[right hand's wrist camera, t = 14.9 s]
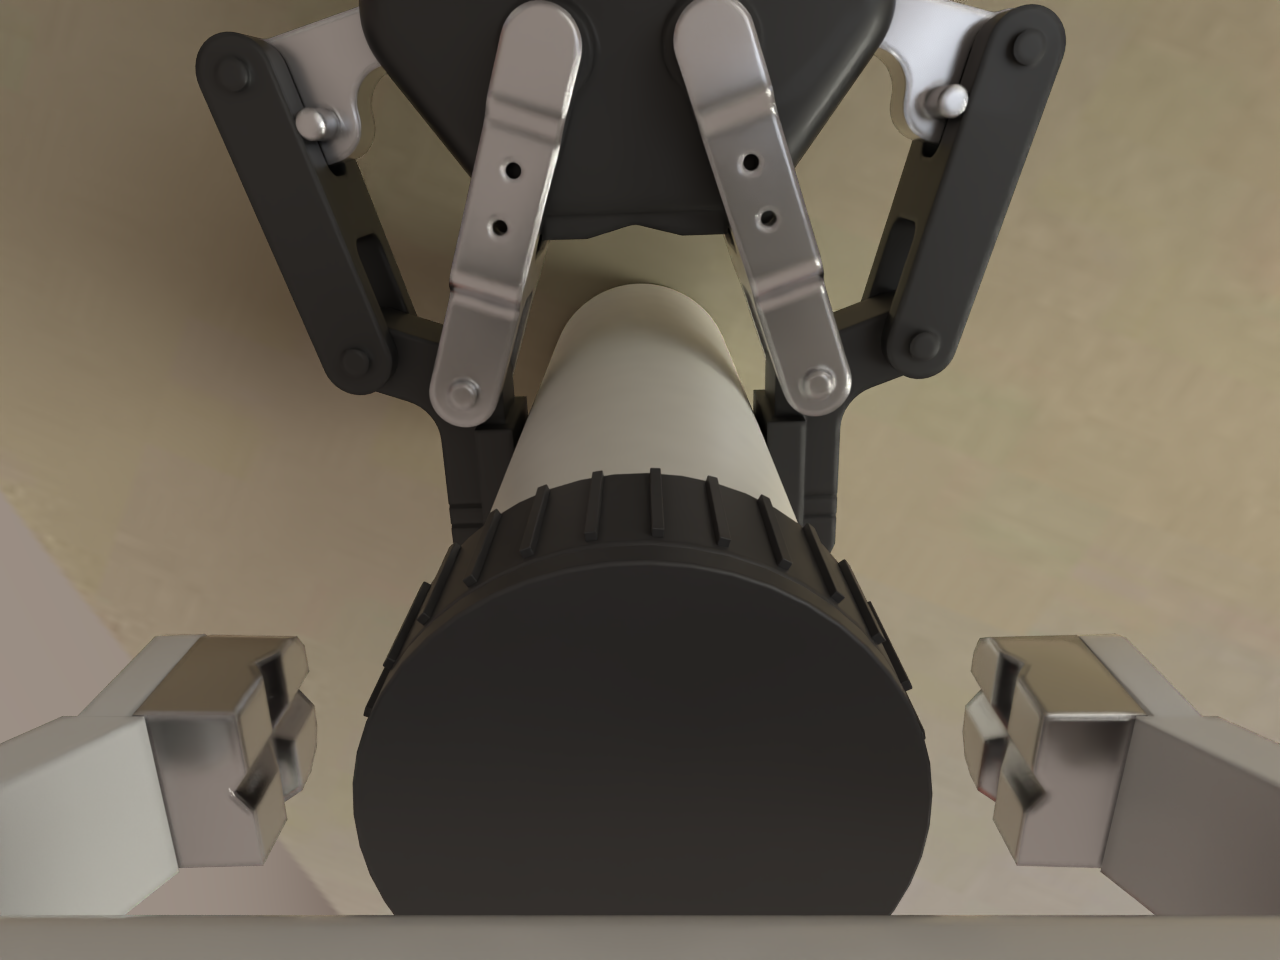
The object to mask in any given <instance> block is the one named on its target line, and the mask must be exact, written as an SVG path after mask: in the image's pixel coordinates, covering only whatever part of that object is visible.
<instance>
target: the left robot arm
mask: <svg viewBox="0 0 1280 960" xmlns="http://www.w3.org/2000/svg"><path fill="white" fill-rule="evenodd" d="M1065 46H1066V35H1065V30H1064V27H1063V24H1062V22H1061V21H1060V19H1059V17H1058V16H1057V15H1056V14H1055V13H1054V12H1053V11H1052V10H1050V9H1048V8H1046V7H1044V6H1041V5H1035V4H1029V5H1023V6H1020V7H1017V8H1010V9H1005V10H1002V11H998V12H990V11H986V10H982V9H979V8H975V7H971V6H968V5H964V4H960V3H957V2H953V1H949V0H359V7H356V8H353V9H350V10H347V11H345V12H342V13H339V14H336V15H333V16H331V17H328V18H325V19H322V20H319V21H317V22H314V23H311V24H308V25H305V26H302V27H300V28H297V29H294V30H291V31H288V32H286V33H283V34H280V35H277V36H274V37H272V38H268V39H260V38H256V37H252V36H248V35H244V34H240V33H235V32H222V33H218V34H215V35H213V36H212V37H210V38H209V39H207V40H206V41H205V42H204V44H203V45H202V46H201V48H200V50H199V52H198V55H197V58H196V66H195V67H196V77H197V81H198V84H199V86H200V89H201V91H202V93H203V96H204V98H205V100H206V102H207V105H208V107H209V109H210V112H211V114H212V116H213V118H214V121H215V123H216V125H217V127H218V130H219V132H220V134H221V137H222V139H223V141H224V143H225V146H226V148H227V150H228V152H229V155H230V157H231V159H232V162H233V164H234V166H235V168H236V171H237V173H238V175H239V177H240V180H241V182H242V184H243V187H244V189H245V191H246V193H247V196H248V198H249V200H250V202H251V205H252V207H253V209H254V212H255V214H256V216H257V218H258V221H259V223H260V225H261V227H262V230H263V232H264V234H265V236H266V239H267V241H268V243H269V246H270V248H271V250H272V252H273V255H274V257H275V259H276V261H277V264H278V266H279V268H280V271H281V273H282V275H283V277H284V280H285V282H286V284H287V286H288V289H289V291H290V293H291V296H292V298H293V300H294V302H295V305H296V307H297V309H298V311H299V314H300V316H301V318H302V321H303V323H304V325H305V327H306V330H307V332H308V334H309V336H310V339H311V341H312V343H313V346H314V348H315V350H316V352H317V355H318V357H319V359H320V361H321V364H322V366H323V368H324V371H325V373H326V374H327V376H328V378H329V379H330V380H331V382H332V383H333V384H334V385H336V386H337V387H338V388H340V389H341V390H343V391H345V392H347V393H350V394H355V395H366V394H371V393H373V392H379V393H383V394H386V395H389V396H392V397H396V398H399V399H402V400H405V401H409V402H411V403H414V404H416V405H418V406H419V407H421V408H422V409H424V410H425V411H426V412H427V413H428V414H429V415H430V416H431V417H432V418H433V420H434V421H435V423H436V425H437V427H438V429H439V432H440V435H441V441H442V449H443V458H444V467H445V475H446V484H447V493H448V501H449V505H450V509H449V510H450V519H451V524H452V536H453V543H454V542H456V543H458V544H459V545H460V546H461V545H462V544H463V543H464V542H465V541H466V540H467V539H468V538H469V537H470V536H471V535H473V534H474V533H475V532H476V531H478V530H479V529H480V528H481V527H483V526H484V525H485V522H486V520H487V517H488V515H489V513H490V511H491V509H492V506H493V504H494V501H495V499H496V496H497V494H498V491H499V489H500V486H501V484H502V481H503V479H504V476H505V474H506V471H507V469H508V466H509V463H510V461H511V458H512V456H513V453H514V451H515V448H516V446H517V443H518V441H519V438H520V436H521V433H522V431H523V428H524V426H525V423H526V421H527V418H528V410H527V397H526V396H523V397H514V385H513V374H514V371H515V367H516V363H517V359H518V355H519V352H520V348H521V344H522V340H523V336H524V332H525V328H526V324H527V320H528V317H529V313H530V309H531V305H532V301H533V297H534V294H535V290H536V287H537V284H538V281H539V278H540V275H541V272H542V268H543V265H544V261H545V257H546V253H547V249H548V245H549V241H550V240H565V239H588V238H592V237H595V236H598V235H601V234H604V233H608V232H611V231H614V230H617V229H620V228H623V227H627V226H630V225H641V226H645V227H649V228H653V229H657V230H661V231H666V232H670V233H674V234H678V235H711V234H723V236H724V239H725V242H726V245H727V248H728V251H729V254H730V257H731V260H732V263H733V266H734V268H735V271H736V274H737V276H738V279H739V281H740V284H741V287H742V290H743V293H744V296H745V299H746V302H747V305H748V308H749V311H750V314H751V317H752V320H753V323H754V326H755V329H756V332H757V335H758V338H759V341H760V344H761V347H762V350H763V353H764V356H765V359H766V368H765V390H754V398H753V413H754V415H755V418H756V420H757V423H758V425H759V428H760V430H761V433H762V435H763V438H764V440H765V443H766V445H767V448H768V450H769V453H770V455H771V458H772V460H773V463H774V465H775V468H776V470H777V473H778V475H779V478H780V480H781V483H782V485H783V487H784V490H785V492H786V495H787V497H788V500H789V502H790V505H791V507H792V510H793V512H794V515H795V517H796V520H797V522H798V524H800V525H801V526H802V527H804V526H805V525H806V524H807V523H809V524H810V525H811V526H813V527H814V528H815V530H816V532H817V535H818V537H819V539H820V542H821V544H823V545H824V546H825V548H826V549H827V550H828V551H829V552H831V550H832V548H833V546H834V544H835V530H836V508H837V486H838V464H839V442H840V425H841V420H842V416H843V414H844V412H845V410H846V408H847V406H848V405H849V404H850V402H851V401H852V400H853V399H854V398H855V397H856V396H857V395H859V394H860V393H862V392H863V391H865V390H867V389H869V388H871V387H874V386H876V385H879V384H882V383H884V382H887V381H890V380H892V379H895V378H898V377H900V376H903V375H904V376H906V377H909V378H914V379H924V378H929V377H931V376H934V375H936V374H938V373H939V372H941V371H942V370H943V369H945V368H946V367H947V365H948V364H949V363H950V362H951V360H952V359H953V357H954V354H955V352H956V349H957V347H958V344H959V341H960V338H961V336H962V333H963V330H964V327H965V325H966V322H967V319H968V316H969V314H970V311H971V308H972V306H973V303H974V300H975V297H976V295H977V292H978V289H979V286H980V284H981V281H982V278H983V275H984V273H985V270H986V267H987V264H988V262H989V259H990V256H991V253H992V251H993V248H994V245H995V242H996V240H997V237H998V234H999V231H1000V229H1001V226H1002V223H1003V221H1004V218H1005V215H1006V212H1007V210H1008V207H1009V204H1010V201H1011V199H1012V196H1013V193H1014V190H1015V188H1016V185H1017V182H1018V179H1019V177H1020V174H1021V171H1022V168H1023V166H1024V163H1025V160H1026V157H1027V155H1028V152H1029V149H1030V146H1031V144H1032V141H1033V138H1034V136H1035V133H1036V130H1037V127H1038V125H1039V122H1040V119H1041V116H1042V114H1043V111H1044V108H1045V105H1046V103H1047V100H1048V97H1049V94H1050V92H1051V89H1052V86H1053V83H1054V81H1055V78H1056V75H1057V72H1058V70H1059V67H1060V64H1061V61H1062V59H1063V56H1064V52H1065ZM873 55H874V56H876V57H878V58H879V59H880V60H881V61H882V62H883V63H884V64H885V66H886V67H887V69H888V71H889V73H890V76H891V80H892V95H891V101H890V114H891V119H892V122H893V124H894V126H895V127H896V129H897V130H898V131H899V132H900V133H901V134H902V135H903V136H905V137H907V138H908V139H911V140H913V141H912V144H911V147H910V150H909V153H908V157H907V160H906V163H905V166H904V169H903V172H902V175H901V178H900V182H899V185H898V188H897V191H896V194H895V197H894V200H893V203H892V206H891V210H890V213H889V216H888V219H887V222H886V225H885V228H884V231H883V234H882V238H881V241H880V244H879V247H878V250H877V253H876V256H875V259H874V263H873V266H872V269H871V272H870V275H869V278H868V281H867V284H866V287H865V291H864V294H863V297H862V300H861V302H859V303H856V304H853V305H851V306H848V307H846V308H843V309H841V310H838V311H836V312H833V311H832V308H831V305H830V301H829V298H828V295H827V291H826V288H825V284H824V271H823V265H822V261H821V257H820V253H819V250H818V246H817V243H816V240H815V236H814V233H813V229H812V226H811V223H810V219H809V216H808V213H807V209H806V206H805V203H804V199H803V196H802V192H801V189H800V186H799V182H798V179H797V176H796V172H795V169H794V168H795V167H796V165H797V164H798V162H799V161H800V160H801V158H802V157H803V155H804V154H805V152H806V151H807V150H808V148H809V147H810V145H811V144H812V142H813V141H814V139H815V138H816V137H817V135H818V134H819V132H820V131H821V129H822V128H823V127H824V125H825V124H826V122H827V121H828V119H829V118H830V117H831V115H832V114H833V112H834V111H835V109H836V108H837V107H838V105H839V104H840V102H841V101H842V99H843V98H844V96H845V95H846V94H847V92H848V91H849V89H850V88H851V86H852V85H853V84H854V82H855V81H856V79H857V78H858V76H859V75H860V74H861V72H862V71H863V69H864V68H865V66H866V65H867V63H868V62H869V61H870V59H871V58H872V56H873ZM385 74H388V75H389V76H390V77H391V79H392V80H393V81H394V82H395V84H396V85H397V86H398V87H399V89H400V90H401V91H402V92H403V94H404V95H405V96H406V97H407V99H408V100H409V101H410V102H411V104H412V105H413V106H414V107H415V109H416V110H417V111H418V112H419V114H420V115H421V116H422V117H423V119H424V120H425V121H426V122H427V124H428V125H429V126H430V127H431V129H432V130H433V131H434V132H435V134H436V135H437V136H438V137H439V139H440V140H441V141H442V142H443V144H444V145H445V146H446V147H447V149H448V150H449V151H450V152H451V154H452V155H453V156H454V157H455V159H456V160H457V161H458V162H459V164H460V165H461V166H462V167H463V169H464V170H465V171H466V172H467V174H468V175H469V176H470V177H471V182H470V187H469V191H468V196H467V200H466V205H465V209H464V214H463V218H462V223H461V227H460V232H459V236H458V241H457V245H456V250H455V254H454V259H453V263H452V268H451V273H450V281H449V287H450V297H449V303H448V307H447V312H446V316H445V320H444V325H442V324H439V323H436V322H433V321H430V320H427V319H423V318H420V317H417V314H416V312H415V309H414V307H413V304H412V302H411V299H410V297H409V294H408V292H407V289H406V286H405V284H404V281H403V279H402V276H401V274H400V271H399V269H398V266H397V264H396V261H395V259H394V256H393V254H392V251H391V248H390V246H389V243H388V241H387V238H386V236H385V233H384V231H383V228H382V226H381V223H380V221H379V218H378V216H377V213H376V210H375V208H374V205H373V203H372V200H371V198H370V195H369V193H368V190H367V188H366V185H365V183H364V180H363V178H362V175H361V172H360V170H359V167H358V165H357V162H356V160H355V159H358V158H360V157H361V156H363V155H364V154H365V153H366V152H367V151H368V150H369V148H370V147H371V145H372V143H373V140H374V136H375V122H374V117H373V113H372V105H371V102H372V95H373V91H374V89H375V86H376V84H377V83H378V81H379V80H380V79H381V78H382V77H383V76H384V75H385Z"/></svg>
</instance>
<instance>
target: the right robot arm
mask: <svg viewBox="0 0 1280 960" xmlns="http://www.w3.org/2000/svg"><path fill="white" fill-rule="evenodd" d="M308 673H309V667H308V662H307V656H306V651H305V646H304V644H303V643H302V642H301V641H300V639H299V638H298V637H297V636H248V635H205V634H179V635H162V636H156V637H154V638H153V639H152V640H151V641H150V642H149V643H148V644H147V645H146V646H145V647H144V648H143V649H142V651H141V652H140V653H139V654H138V655H137V656H136V657H135V658H134V659H133V660H132V661H131V662H130V663H129V664H128V665H127V666H126V667H125V668H124V669H123V670H122V671H121V672H120V673H119V674H118V675H117V676H116V677H115V678H114V679H113V680H112V681H111V682H110V683H109V684H108V685H107V686H106V687H105V688H104V689H103V691H101V692H100V694H99V695H98V696H97V697H96V698H95V699H94V700H93V701H92V702H91V703H90V704H89V705H88V706H87V707H86V708H85V709H84V710H83V711H82V712H81V713H80V714H79V715H78V716H62V717H60V718H58V719H55V720H53V721H51V722H48V723H46V724H44V725H42V726H39V727H37V728H35V729H33V730H30V731H28V732H26V733H23V734H21V735H19V736H17V737H14V738H12V739H10V740H8V741H5V742H3V743H1V744H0V960H1280V744H1279V743H1277V742H1275V741H1272V740H1270V739H1268V738H1265V737H1263V736H1261V735H1259V734H1256V733H1254V732H1252V731H1250V730H1247V729H1245V728H1243V727H1241V726H1238V725H1236V724H1234V723H1232V722H1229V721H1227V720H1225V719H1223V718H1220V717H1218V716H1202V715H1201V714H1200V713H1199V712H1198V711H1197V710H1196V709H1195V708H1194V707H1193V706H1192V705H1191V704H1190V703H1189V702H1188V701H1187V700H1186V699H1185V698H1184V696H1183V695H1182V694H1181V693H1180V692H1179V691H1178V690H1177V689H1176V688H1175V687H1174V686H1173V685H1172V684H1171V683H1170V682H1169V681H1168V680H1167V679H1166V678H1165V677H1164V676H1163V675H1162V674H1161V673H1160V672H1159V671H1158V670H1157V669H1156V668H1155V667H1154V666H1153V665H1152V664H1151V663H1150V662H1149V661H1148V660H1147V658H1146V657H1145V656H1144V655H1143V654H1142V653H1141V652H1140V651H1139V650H1138V649H1137V648H1136V647H1135V646H1134V645H1133V644H1132V643H1131V642H1130V641H1129V640H1128V639H1127V638H1126V637H1123V636H1120V635H1117V634H1095V635H1057V636H1016V637H987V638H980V639H979V641H978V643H977V646H976V648H975V650H974V654H973V660H972V667H971V673H972V674H973V676H974V678H975V679H976V681H977V683H978V684H979V686H980V688H981V690H980V691H979V692H978V693H977V694H976V695H975V696H974V697H973V698H972V699H971V700H970V701H969V703H968V704H967V705H966V706H965V715H964V724H963V742H964V753H965V759H966V762H967V766H968V769H969V773H970V775H971V777H972V779H973V781H974V783H975V786H976V788H977V790H978V791H980V792H981V793H983V794H984V795H986V796H987V797H989V798H990V799H992V800H993V801H995V809H994V815H993V821H994V823H995V825H996V827H997V828H998V830H999V832H1000V834H1001V836H1002V838H1003V840H1004V842H1005V844H1006V846H1007V847H1008V849H1009V851H1010V853H1011V855H1012V857H1013V859H1014V861H1015V863H1016V865H1017V866H1050V867H1087V868H1101V871H1100V872H1102V873H1103V874H1104V875H1105V876H1107V877H1108V878H1109V879H1111V880H1112V881H1113V882H1114V883H1116V884H1117V885H1118V886H1119V887H1121V888H1122V889H1123V890H1124V891H1126V892H1127V893H1128V894H1129V895H1131V896H1132V897H1133V898H1134V899H1136V900H1137V901H1138V902H1140V903H1141V904H1142V905H1143V906H1145V907H1146V908H1147V909H1148V910H1150V911H1151V912H1152V913H1153V914H1155V915H126V914H127V913H128V912H129V911H131V910H132V909H133V908H134V907H136V906H137V905H138V904H139V903H141V902H142V901H143V900H145V899H146V898H147V897H148V896H150V895H151V894H152V893H153V892H155V891H156V890H157V889H158V888H160V887H161V886H162V885H164V884H165V883H166V882H167V881H169V880H170V879H171V878H172V877H174V876H175V875H176V874H177V873H179V868H193V867H227V866H262V865H264V863H265V861H266V859H267V857H268V855H269V853H270V851H271V849H272V848H273V846H274V844H275V842H276V840H277V838H278V836H279V834H280V832H281V830H282V828H283V827H284V825H285V823H286V821H287V815H286V809H285V801H287V800H288V799H290V798H291V797H293V796H294V795H296V794H297V793H299V792H300V791H302V790H303V788H304V785H305V783H306V781H307V779H308V777H309V775H310V773H311V770H312V766H313V761H314V756H315V752H316V747H317V721H316V714H315V706H314V705H313V704H312V703H311V701H310V700H309V699H308V698H307V697H306V696H305V695H304V694H303V693H302V692H301V691H300V690H299V688H300V686H301V684H302V683H303V681H304V679H305V678H306V676H307V674H308Z"/></svg>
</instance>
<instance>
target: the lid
mask: <svg viewBox="0 0 1280 960" xmlns="http://www.w3.org/2000/svg"><path fill="white" fill-rule="evenodd" d="M383 666H384V670H383V672H382V674H381V676H380V678H379V680H378V682H377V684H376V686H375V688H374V690H373V693H372V695H371V697H370V699H369V701H368V703H367V705H366V707H365V711H364V716H366V717H368V719H367V721H366V724H365V727H364V731H363V734H362V737H361V740H360V744H359V747H358V750H357V755H356V763H355V770H354V777H353V809H354V819H355V824H356V829H357V834H358V839H359V845H360V848H361V851H362V854H363V856H364V859H365V862H366V865H367V867H368V870H369V873H370V875H371V877H372V879H373V881H374V883H375V885H376V887H377V888H378V890H379V892H380V894H381V896H382V898H383V900H384V901H385V903H386V904H387V906H388V907H389V908H390V910H391V911H392V912H393V914H394V915H891V914H892V913H893V911H894V910H895V908H896V907H897V905H898V903H899V902H900V900H901V898H902V897H903V895H904V894H905V892H906V890H907V889H908V887H909V885H910V883H911V881H912V879H913V876H914V874H915V871H916V869H917V867H918V864H919V862H920V860H921V857H922V854H923V850H924V846H925V842H926V838H927V834H928V830H929V826H930V815H931V804H932V783H931V769H930V761H929V757H928V753H927V749H926V745H925V740H924V739H925V731H924V729H923V727H922V724H921V722H920V720H919V718H918V716H917V714H916V712H915V710H914V708H913V705H912V703H911V701H910V699H909V697H908V695H907V693H906V691H907V690H910V689H912V685H911V683H910V681H909V679H908V676H907V674H906V672H905V670H904V668H903V666H902V664H901V662H900V660H899V658H898V656H897V654H896V652H895V650H894V648H893V646H892V644H891V642H890V640H889V638H888V636H887V634H886V632H885V630H884V628H883V625H882V623H881V621H880V619H879V617H878V615H877V613H876V611H875V609H874V607H873V605H872V603H871V602H870V601H869V602H867V600H866V598H865V596H864V594H863V592H862V590H861V588H860V586H859V584H858V582H857V580H856V578H855V575H854V573H853V571H852V569H851V567H850V565H849V564H848V563H847V561H846V560H845V559H844V560H842V561H841V562H839V563H838V562H837V561H836V559H835V558H834V557H833V556H832V555H831V554H830V552H829V551H828V550H827V549H826V548H825V546H824V545H823V544H821V542H820V539H819V537H818V535H817V532H816V530H815V528H814V527H813V526H811V525H810V524H809V523H807V524H806V525H805V526H804V527H802V526H801V525H800V524H798V523H797V522H795V521H794V520H792V519H791V518H789V517H788V516H786V515H785V514H783V513H782V512H781V511H779V510H778V509H776V508H774V507H773V506H772V503H771V500H770V498H768V497H766V496H764V495H762V494H761V495H760V497H759V498H758V499H756V498H754V497H752V496H750V495H748V494H746V493H743V492H741V491H738V490H735V489H732V488H729V487H726V486H723V485H720V484H719V482H718V478H717V477H713V476H709V475H708V476H707V479H706V481H705V480H700V479H695V478H690V477H686V476H679V475H667V474H661V468H650V473H633V474H613V475H607V476H604V475H603V471H602V470H601V471H595V472H592V478H589V479H582V480H578V481H575V482H572V483H568V484H565V485H562V486H558V487H555V488H551V489H549V488H548V485H547V484H545V485H543V486H540V487H538V488H537V491H536V495H535V496H532V497H530V498H528V499H526V500H523V501H521V502H519V503H517V504H516V505H514V506H512V507H511V508H509V509H507V510H506V511H504V512H502V513H500V512H499V511H498V509H495V510H493V511H492V512H490V513H489V515H488V517H487V520H486V522H485V525H484V526H483V527H481V528H480V529H479V530H478V531H476V532H475V533H474V534H473V535H471V536H470V537H469V538H468V539H467V540H466V541H465V542H464V543H463V544H462V545H461V546H460V545H459V544H458V543H456V542H454V543H453V544H452V545H451V546H450V547H449V549H448V552H447V554H446V556H445V558H444V560H443V562H442V565H441V567H440V569H439V571H438V573H437V575H436V578H435V579H434V580H433V582H432V583H431V584H429V583H427V582H423V584H422V586H421V587H420V589H419V591H418V594H417V596H416V598H415V600H414V602H413V604H412V606H411V608H410V610H409V612H408V614H407V616H406V618H405V620H404V622H403V625H402V627H401V629H400V631H399V633H398V635H397V637H396V639H395V641H394V643H393V645H392V647H391V649H390V651H389V653H388V656H387V658H386V660H385V662H384V664H383Z"/></svg>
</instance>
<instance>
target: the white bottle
mask: <svg viewBox="0 0 1280 960" xmlns="http://www.w3.org/2000/svg"><path fill="white" fill-rule="evenodd" d="M650 468H661V474H667V475H679V476H686V477H690V478H695V479H700V480H705V481H706V479H707V476H708V475H709V476H713V477H717V478H718V482H719V484H720V485H723V486H726V487H729V488H732V489H735V490H738V491H741V492H743V493H746V494H748V495H750V496H752V497H754V498H756V499H758V498H759V497H760V495H761V494H762V495H764V496H766V497H768V498H770V500H771V503H772V506H773V507H774V508H776V509H778V510H779V511H781V512H782V513H783V514H785V515H786V516H788V517H789V518H791V519H792V520H794V521H795V522H797V520H796V517H795V515H794V512H793V510H792V507H791V505H790V502H789V500H788V497H787V495H786V492H785V490H784V487H783V485H782V483H781V480H780V478H779V475H778V473H777V470H776V468H775V465H774V463H773V460H772V458H771V455H770V453H769V450H768V448H767V445H766V443H765V440H764V438H763V435H762V433H761V430H760V428H759V425H758V423H757V420H756V418H755V415H754V413H753V410H752V408H751V405H750V403H749V400H748V398H747V395H746V393H745V390H744V388H743V385H742V383H741V380H740V378H739V376H738V373H737V371H736V368H735V366H734V363H733V361H732V358H731V356H730V353H729V351H728V348H727V346H726V343H725V341H724V338H723V336H722V334H721V332H720V330H719V328H718V326H717V325H716V323H715V322H714V320H713V319H712V317H711V316H710V315H709V314H708V313H707V312H706V311H705V310H704V309H703V308H702V307H701V306H700V305H699V304H698V303H696V302H695V301H694V300H692V299H691V298H689V297H688V296H686V295H684V294H682V293H680V292H678V291H676V290H674V289H671V288H667V287H664V286H660V285H654V284H628V285H623V286H619V287H615V288H612V289H609V290H607V291H604V292H602V293H600V294H598V295H597V296H595V297H593V298H592V299H590V300H589V301H588V302H586V303H585V304H583V305H582V306H581V307H580V308H579V309H578V310H577V311H576V312H575V313H574V315H573V316H572V317H571V318H570V320H569V321H568V322H567V324H566V326H565V327H564V329H563V331H562V333H561V335H560V337H559V340H558V342H557V345H556V347H555V350H554V352H553V355H552V357H551V360H550V362H549V365H548V367H547V370H546V372H545V375H544V378H543V380H542V383H541V385H540V388H539V390H538V393H537V395H536V398H535V400H534V403H533V405H532V408H531V410H530V413H529V415H528V418H527V421H526V423H525V426H524V428H523V431H522V433H521V436H520V438H519V441H518V443H517V446H516V448H515V451H514V453H513V456H512V458H511V461H510V463H509V466H508V469H507V471H506V474H505V476H504V479H503V481H502V484H501V486H500V489H499V491H498V494H497V496H496V499H495V501H494V504H493V506H492V509H491V511H490V512H492V511H493V510H495V509H498V511H499V512H500V513H502V512H504V511H506V510H507V509H509V508H511V507H512V506H514V505H516V504H517V503H519V502H521V501H523V500H526V499H528V498H530V497H532V496H535V495H536V491H537V488H538V487H540V486H543V485H545V484H547V485H548V488H549V489H551V488H555V487H558V486H562V485H565V484H568V483H572V482H575V481H578V480H582V479H589V478H592V472H595V471H601V470H602V471H603V475H604V476H607V475H613V474H633V473H650ZM797 523H798V522H797Z"/></svg>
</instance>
